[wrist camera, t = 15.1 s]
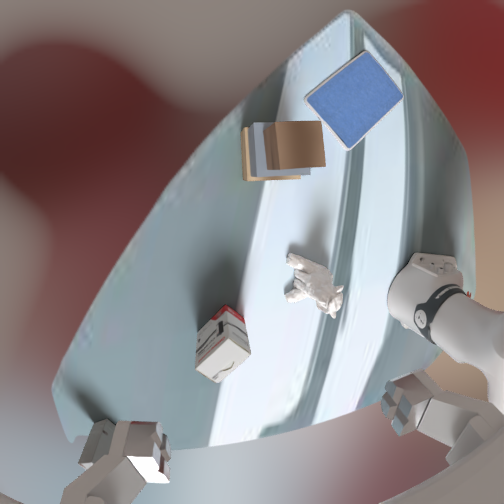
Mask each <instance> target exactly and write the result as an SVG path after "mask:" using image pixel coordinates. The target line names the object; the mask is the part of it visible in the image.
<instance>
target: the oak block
mask: <svg viewBox="0 0 504 504" xmlns="http://www.w3.org/2000/svg"><path fill="white" fill-rule="evenodd" d="M248 128H249V127H245V128H244V129H243V130H242V132H241V150H242V169H243V180H245V181H262V180H286V179H301V178H300V175H290V176H269V177H251V174H250V159H249V144H248Z"/></svg>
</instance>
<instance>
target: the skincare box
mask: <svg viewBox="0 0 504 504" xmlns="http://www.w3.org/2000/svg"><path fill="white" fill-rule="evenodd" d="M115 427H116V426H115V425H114V424H113V423H112V422H111V421H109V420H108V419H105V420H102V421H99V422H96V423H94V425H93V427H92V429H91V432H90V434H89V437H88V440H87V442H86V444H85V447H84V449H83V452H82V455H81V457H80V460H79V462H78V464H79V465H80V466H82V467H83V468H84V469H86V470H87V469H88V468H90V467H91V466H92V465H93V464H94V463H96V462H97V461H98V460H99V459H100V458H101V457H102V456H104V455H108V454H109V450H110V446H111V442H112V438H113V434H114V431H115Z"/></svg>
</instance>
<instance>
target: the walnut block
mask: <svg viewBox="0 0 504 504" xmlns="http://www.w3.org/2000/svg"><path fill="white" fill-rule="evenodd" d="M263 136H264V145H265V154H266V164H267V170H284V169H296V168H310V167H326V163H325V152H324V142H323V133H322V124H321V121H287V122H274V123H273V124H272V125H270V126H269V127H268V128H266V129H265V130H264V131H263Z"/></svg>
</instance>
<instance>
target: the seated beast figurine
mask: <svg viewBox="0 0 504 504" xmlns="http://www.w3.org/2000/svg"><path fill="white" fill-rule="evenodd" d="M288 256H289V257H287V260H286V263H287V264H288V265H289V266H292V267H293V268H294V269H295V270H294V275H295V276H296V279H294V282H293V283H294V289H292V290H291V291H290V292H288V293H286V294H284V296H285V298H286V300H287V302H288V303H291V302H299V300H302V299H304V298H306V297H310V298H312V299H313V300H315V301H316V303H317V308H318V309H319V310H322V311H323V312H325V313H326V314H329V313H330V314H331V316H332V317H333V318H335V317H336V311H338V310H339V309H340V307H341V306H342V305H341V304H342V303H343V302H342V301H343V294H342V293H341V291H342V290H343V287H344V285H343V286H337V287H335V286H333V284H332V281H333V275H332V273H330V270H328V269H327V267H324V266H323V265H319V264H318V263H315V262H312V261H311V260H308V259H305V258H304V257H301V256H300V255H295V254H293V253H289V254H288ZM304 272H305V273H304ZM297 278H298V279H297ZM301 280H302V281H301ZM295 286H296V288H295Z"/></svg>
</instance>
